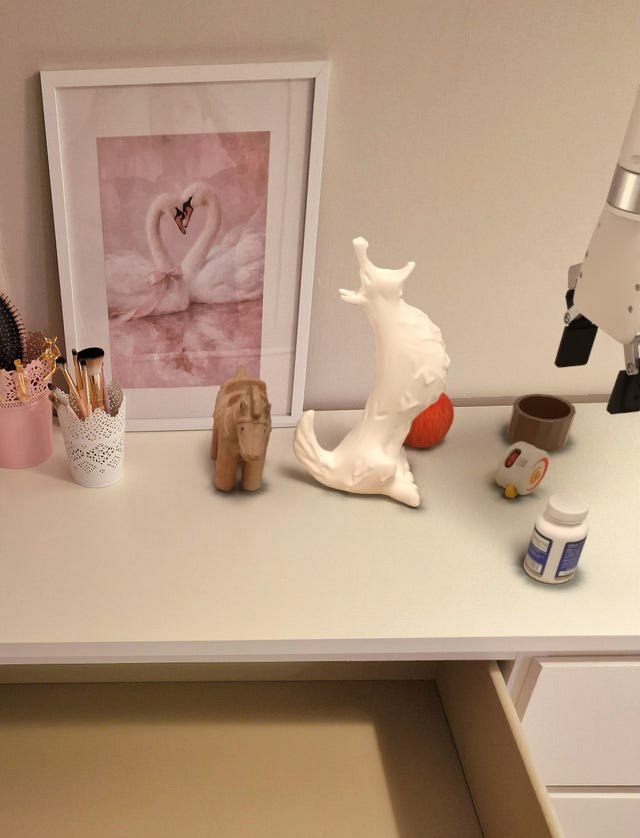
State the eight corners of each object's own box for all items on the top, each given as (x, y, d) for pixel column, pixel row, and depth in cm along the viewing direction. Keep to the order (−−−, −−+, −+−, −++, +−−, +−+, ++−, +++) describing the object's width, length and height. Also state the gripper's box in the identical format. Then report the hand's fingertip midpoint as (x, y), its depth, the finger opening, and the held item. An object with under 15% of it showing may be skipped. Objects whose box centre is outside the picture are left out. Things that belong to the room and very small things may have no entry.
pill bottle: (573, 560, 97) (597, 492, 91) (573, 588, 94) (598, 520, 88) (523, 552, 99) (543, 485, 93) (521, 580, 95) (542, 512, 89)
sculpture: (431, 509, 106) (483, 254, 85) (293, 511, 106) (312, 258, 86) (415, 460, 114) (459, 217, 94) (286, 462, 115) (302, 221, 95)
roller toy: (548, 487, 108) (560, 446, 104) (517, 506, 105) (529, 464, 101) (517, 473, 111) (528, 432, 107) (486, 491, 108) (497, 450, 104)
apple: (390, 423, 121) (399, 368, 116) (450, 430, 119) (461, 375, 114) (383, 451, 116) (391, 396, 110) (445, 459, 114) (457, 403, 108)
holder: (549, 421, 120) (557, 391, 117) (576, 448, 114) (586, 417, 111) (496, 427, 119) (504, 397, 116) (522, 455, 114) (530, 424, 111)
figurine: (220, 522, 105) (221, 409, 95) (206, 448, 118) (206, 342, 108) (280, 518, 106) (287, 404, 95) (260, 445, 118) (265, 338, 108)
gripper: (773, 219, 65) (686, 427, 76) (643, 160, 77) (586, 346, 89) (678, 227, 64) (605, 436, 75) (564, 166, 77) (516, 353, 88)
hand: (595, 387), depth 82 cm, fingers open, 9 cm apart
